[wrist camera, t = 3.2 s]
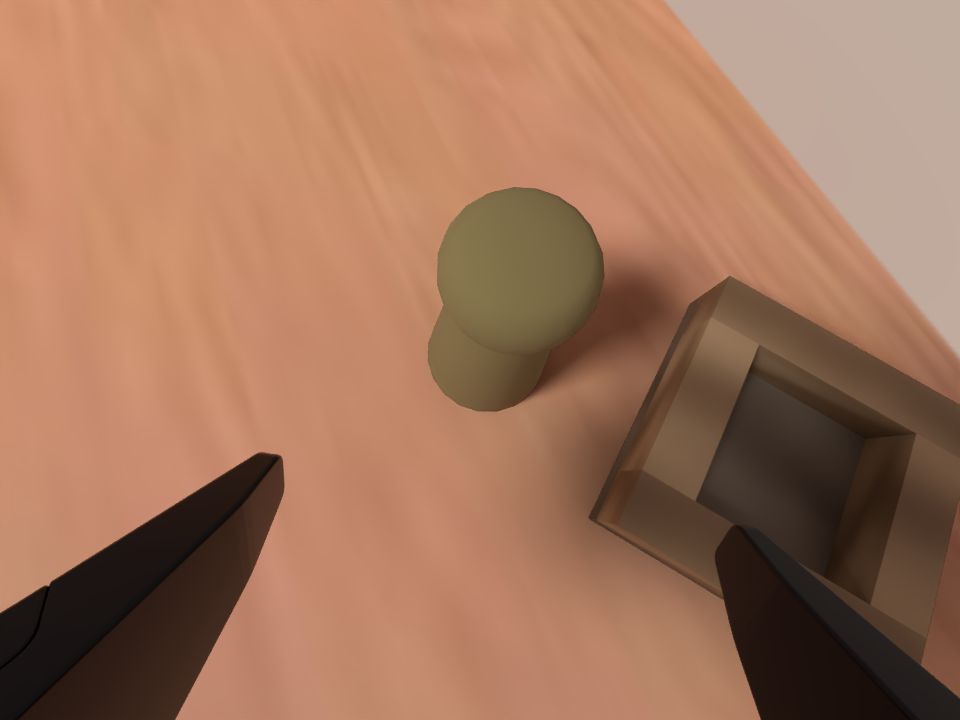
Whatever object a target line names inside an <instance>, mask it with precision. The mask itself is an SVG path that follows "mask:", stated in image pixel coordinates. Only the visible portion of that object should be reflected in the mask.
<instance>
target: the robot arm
mask: <svg viewBox="0 0 960 720" xmlns="http://www.w3.org/2000/svg"><path fill="white" fill-rule="evenodd" d="M283 493H284V470H283V459H282V457H281V456H280V455H277V454H270V453H264V452H260V453H257V454H255V455H253V456H252V457H250V458H249V459H247V460H245V461H244V462H242V463H241V464H239V465H237V466H236V467H234V468H233V469H231V470H229V471H228V472H226V473H225V474H223V475H221V476H220V477H218V478H217V479H215V480H213V481H212V482H210V483H208V484H207V485H205V486H204V487H202V488H200V489H199V490H197V491H196V492H194V493H192V494H191V495H189V496H188V497H186V498H184V499H183V500H181V501H180V502H178V503H176V504H175V505H173V506H172V507H170V508H168V509H167V510H165V511H164V512H162V513H160V514H159V515H157V516H156V517H154V518H152V519H151V520H149V521H148V522H146V523H144V524H143V525H141V526H140V527H138V528H136V529H135V530H133V531H132V532H130V533H128V534H127V535H125V536H123V537H122V538H120V539H119V540H117V541H115V542H114V543H112V544H111V545H109V546H107V547H106V548H104V549H103V550H101V551H99V552H98V553H96V554H95V555H93V556H91V557H90V558H88V559H87V560H85V561H83V562H82V563H80V564H79V565H77V566H75V567H74V568H72V569H71V570H69V571H67V572H66V573H64V574H63V575H61V576H59V577H58V578H56V579H55V580H53V581H52V582H51V583H50V585H49V586H43V587H41V588H40V589H38V590H37V591H35V592H33V593H32V594H30V595H29V596H27V597H25V598H24V599H22V600H21V601H19V602H17V603H16V604H14V605H12V606H11V607H9V608H7V609H6V610H4V611H2V612H1V613H0V720H175V719H176V717H177V715H178V713H179V711H180V710H181V708H182V706H183V704H184V702H185V700H186V698H187V696H188V694H189V692H190V691H191V689H192V687H193V685H194V683H195V681H196V679H197V677H198V675H199V674H200V672H201V670H202V668H203V666H204V664H205V662H206V660H207V658H208V656H209V655H210V653H211V651H212V649H213V647H214V645H215V643H216V641H217V639H218V637H219V636H220V634H221V632H222V630H223V628H224V626H225V624H226V622H227V620H228V619H229V617H230V615H231V613H232V611H233V609H234V607H235V605H236V603H237V601H238V600H239V598H240V596H241V594H242V592H243V590H244V588H245V586H246V584H247V582H248V580H249V578H250V576H251V574H252V572H253V569H254V567H255V565H256V562H257V560H258V557H259V555H260V552H261V550H262V547H263V545H264V542H265V540H266V537H267V535H268V532H269V530H270V527H271V525H272V522H273V520H274V517H275V515H276V512H277V510H278V507H279V504H280V502H281V499H282V497H283ZM714 558H715V565H716V569H717V573H718V577H719V582H720V586H721V590H722V594H723V598H724V602H725V606H726V611H727V615H728V619H729V623H730V627H731V631H732V634H733V638H734V642H735V645H736V648H737V651H738V654H739V657H740V660H741V663H742V666H743V669H744V672H745V675H746V678H747V681H748V683H749V686H750V689H751V692H752V695H753V698H754V701H755V704H756V707H757V710H758V713H759V716H760V719H761V720H960V698H959V697H958V696H956V695H955V694H954V693H953V692H952V691H951V690H949V689H948V688H947V687H946V686H945V685H943V684H942V683H941V682H940V681H939V680H937V679H936V678H935V677H934V676H933V675H931V674H930V673H929V672H928V671H927V670H926V669H924V668H923V667H922V666H921V665H920V664H918V663H917V662H916V661H915V660H914V659H912V658H911V657H910V656H909V655H908V654H906V653H905V652H904V651H903V650H902V649H901V648H899V647H898V646H897V645H896V644H895V643H893V642H892V641H891V640H890V639H889V638H887V637H886V636H885V635H884V634H883V633H881V632H880V631H879V630H878V629H877V628H875V627H874V626H873V625H872V624H871V623H870V622H868V621H867V620H866V619H865V618H864V617H862V616H861V615H860V614H859V613H858V612H856V611H855V610H854V609H853V608H852V607H850V606H849V605H848V604H847V603H846V602H845V601H843V600H842V599H841V598H840V597H839V596H837V595H836V594H835V593H834V592H833V591H831V590H830V589H829V588H828V587H827V586H825V585H824V584H823V583H822V582H821V581H820V580H818V579H817V578H816V577H815V576H814V575H812V574H811V573H810V572H809V571H808V570H806V569H805V568H804V567H803V566H802V565H800V564H799V563H798V562H797V561H796V560H795V559H793V558H792V557H791V556H790V555H789V554H787V553H786V552H785V551H784V550H783V549H781V548H780V547H779V546H778V545H777V544H775V543H774V542H773V541H772V540H771V539H770V538H768V537H767V536H766V535H765V534H764V533H762V532H761V531H760V530H759V529H757V528H755V527H752V526H746V525H739V524H735V525H733V526H731V527H730V528H729V530H728V531H727V533H726V535H725V536H724V538H723V539H722V541H721V542H720V544H719V545H718V547H717V548H716V551H715V556H714Z"/></svg>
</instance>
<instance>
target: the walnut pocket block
mask: <svg viewBox="0 0 960 720" xmlns="http://www.w3.org/2000/svg"><path fill="white" fill-rule="evenodd" d="M959 495H960V405H959V404H958V403H956V402H954V401H952V400H950V399H949V398H947V397H945V396H943V395H941V394H940V393H938V392H936V391H934V390H933V389H931V388H929V387H927V386H925V385H924V384H922V383H920V382H918V381H917V380H915V379H913V378H911V377H909V376H908V375H906V374H904V373H902V372H900V371H899V370H897V369H895V368H893V367H892V366H890V365H888V364H886V363H884V362H883V361H881V360H879V359H877V358H876V357H874V356H872V355H870V354H868V353H867V352H865V351H863V350H861V349H859V348H858V347H856V346H854V345H852V344H851V343H849V342H847V341H845V340H843V339H842V338H840V337H838V336H836V335H834V334H833V333H831V332H829V331H827V330H826V329H824V328H822V327H820V326H818V325H817V324H815V323H813V322H811V321H810V320H808V319H806V318H804V317H802V316H801V315H799V314H797V313H795V312H793V311H792V310H790V309H788V308H786V307H785V306H783V305H781V304H779V303H777V302H776V301H774V300H772V299H770V298H768V297H767V296H765V295H763V294H761V293H760V292H758V291H756V290H754V289H752V288H751V287H749V286H747V285H745V284H744V283H742V282H740V281H738V280H736V279H735V278H733V277H731V276H729V277H728V278H726V279H725V280H723V281H722V282H721V283H719V284H718V285H716V286H715V287H713V288H712V289H711V290H709V291H708V292H706V293H705V294H703V295H702V296H701V297H699V298H698V299H696V300H695V301H693V302H692V303H690V305H689V307H688V309H687V311H686V314H685V316H684V318H683V320H682V322H681V324H680V326H679V328H678V330H677V333H676V335H675V337H674V339H673V341H672V343H671V345H670V347H669V349H668V352H667V354H666V356H665V358H664V360H663V362H662V364H661V366H660V368H659V370H658V373H657V375H656V377H655V379H654V381H653V383H652V385H651V387H650V389H649V392H648V394H647V396H646V398H645V400H644V402H643V404H642V406H641V408H640V411H639V413H638V415H637V417H636V419H635V421H634V423H633V425H632V427H631V430H630V432H629V434H628V436H627V438H626V440H625V442H624V444H623V446H622V449H621V451H620V453H619V455H618V457H617V459H616V461H615V463H614V465H613V468H612V470H611V472H610V474H609V476H608V478H607V480H606V482H605V484H604V487H603V489H602V491H601V493H600V495H599V497H598V499H597V501H596V503H595V506H594V508H593V510H592V512H591V514H590V516H589V519H590V520H592V521H594V522H595V523H597V524H599V525H600V526H602V527H604V528H605V529H607V530H609V531H610V532H612V533H614V534H615V535H617V536H619V537H620V538H622V539H624V540H625V541H627V542H629V543H630V544H632V545H634V546H635V547H637V548H639V549H640V550H642V551H644V552H645V553H647V554H649V555H650V556H652V557H653V558H655V559H657V560H658V561H660V562H662V563H663V564H665V565H667V566H668V567H670V568H672V569H673V570H675V571H677V572H678V573H680V574H682V575H683V576H685V577H687V578H688V579H690V580H692V581H693V582H695V583H697V584H698V585H700V586H702V587H703V588H705V589H707V590H708V591H710V592H711V593H713V594H715V595H716V596H718V597H720V598H721V599H723V600H724V598H723V594H722V590H721V586H720V582H719V577H718V573H717V569H716V565H715V558H714V556H715V551H716V548H717V547H718V545H719V544H720V542H721V541H722V539H723V538H724V536H725V535H726V533H727V531H728V530H729V528H730V527H731V526H733V525H735V524H739V525H746V526H752V527H755V528H757V529H759V530H760V531H761V532H762V533H764V534H765V535H766V536H767V537H768V538H770V539H771V540H772V541H773V542H774V543H775V544H777V545H778V546H779V547H780V548H781V549H783V550H784V551H785V552H786V553H787V554H789V555H790V556H791V557H792V558H793V559H795V560H796V561H797V562H798V563H799V564H800V565H802V566H803V567H804V568H805V569H806V570H808V571H809V572H810V573H811V574H812V575H814V576H815V577H816V578H817V579H818V580H820V581H821V582H822V583H823V584H824V585H825V586H827V587H828V588H829V589H830V590H831V591H833V592H834V593H835V594H836V595H837V596H839V597H840V598H841V599H842V600H843V601H845V602H846V603H847V604H848V605H849V606H850V607H852V608H853V609H854V610H855V611H856V612H858V613H859V614H860V615H861V616H862V617H864V618H865V619H866V620H867V621H868V622H870V623H871V624H872V625H873V626H874V627H875V628H877V629H878V630H879V631H880V632H881V633H883V634H884V635H885V636H886V637H887V638H889V639H890V640H891V641H892V642H893V643H895V644H896V645H897V646H898V647H899V648H901V649H902V650H903V651H904V652H905V653H906V654H908V655H909V656H910V657H911V658H912V659H914V660H915V661H916V662H917V663H918V664H920V665H921V661H922V656H923V652H924V648H925V643H926V639H927V635H928V630H929V626H930V622H931V617H932V613H933V609H934V604H935V600H936V596H937V591H938V587H939V582H940V578H941V574H942V569H943V565H944V561H945V556H946V552H947V548H948V543H949V539H950V535H951V530H952V526H953V521H954V517H955V513H956V508H957V504H958V500H959Z"/></svg>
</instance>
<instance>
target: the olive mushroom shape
mask: <svg viewBox="0 0 960 720" xmlns="http://www.w3.org/2000/svg"><path fill="white" fill-rule="evenodd" d="M603 280H604V264H603V253H602V250H601V248H600V245H599V243H598V241H597V238H596V236H595V234H594V231H593V229H592V227H591V225H590V224H589V223H588V222H587V221H586V219H585V218H584V217H583V216H582V215H581V213H580V212H579V211H578V210H577V209H576V208H575V207H573V206H572V205H570V204H569V203H567V202H566V201H564V200H563V199H562V198H560V197H559V196H556V195H553V194H551V193H548V192H545V191H542V190H539V189H534V188H517V187H513V188H509V189H504V190H500V191H495V192H492V193H489V194H486V195H485V196H483V197H481V198H479V199H478V200H476V201H474V202H472V203H471V204H469V205H467V206H466V207H465V208H464V209H463V210H462V211H461V213H460V214H459V215H458V216H457V217H456V218H455V219H454V221H453V222H452V223H451V224H450V226H449V228H448V230H447V231H446V234H445V236H444V239H443V242H442V244H441V247H440V249H439V252H438V268H437V286H438V289H439V292H440V295H441V298H442V301H443V304H444V306H443V308H442V310H441V313H440V315H439V318H438V320H437V322H436V325H435V327H434V330H433V333H432V335H431V338H430V341H429V345H428V363H429V366H430V369H431V373H432V376H433V379H434V380H435V382H436V383H437V384H438V386H439V387H440V389H441V390H442V391H443V393H444V394H445V395H446V396H448V397H449V398H451V399H452V400H453V401H455V402H456V403H457V404H459V405H461V406H464V407H466V408H469V409H472V410H475V411H500V410H503V409H506V408H509V407H512V406H515V405H516V404H518V403H519V402H520V401H522V400H523V399H524V398H526V397H527V396H529V394H530V393H531V392H532V390H533V389H534V387H535V386H536V384H537V383H538V382H539V380H540V377H541V375H542V372H543V370H544V367H545V365H546V362H547V359H548V357H549V354H550V352H551V349H552V348H554V347H557V346H558V345H560V344H561V343H563V342H564V341H566V340H567V339H568V338H570V337H571V336H573V335H574V334H575V333H577V332H578V331H579V330H580V329H581V328H582V327H583V325H584V324H585V322H586V321H587V320H588V318H589V317H590V315H591V314H592V312H593V311H594V310H595V308H596V306H597V302H598V298H599V295H600V291H601V287H602V283H603Z"/></svg>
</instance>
